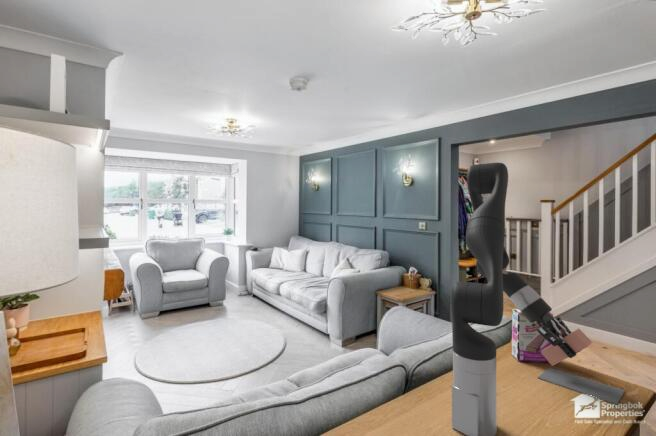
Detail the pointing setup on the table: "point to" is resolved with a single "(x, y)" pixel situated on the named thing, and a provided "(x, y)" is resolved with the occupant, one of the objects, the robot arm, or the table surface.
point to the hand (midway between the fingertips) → (576, 353)
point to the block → (574, 340)
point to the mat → (583, 385)
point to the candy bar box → (527, 339)
